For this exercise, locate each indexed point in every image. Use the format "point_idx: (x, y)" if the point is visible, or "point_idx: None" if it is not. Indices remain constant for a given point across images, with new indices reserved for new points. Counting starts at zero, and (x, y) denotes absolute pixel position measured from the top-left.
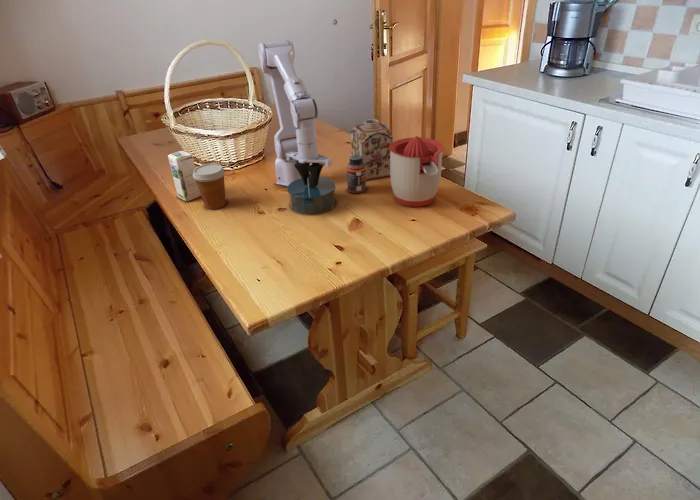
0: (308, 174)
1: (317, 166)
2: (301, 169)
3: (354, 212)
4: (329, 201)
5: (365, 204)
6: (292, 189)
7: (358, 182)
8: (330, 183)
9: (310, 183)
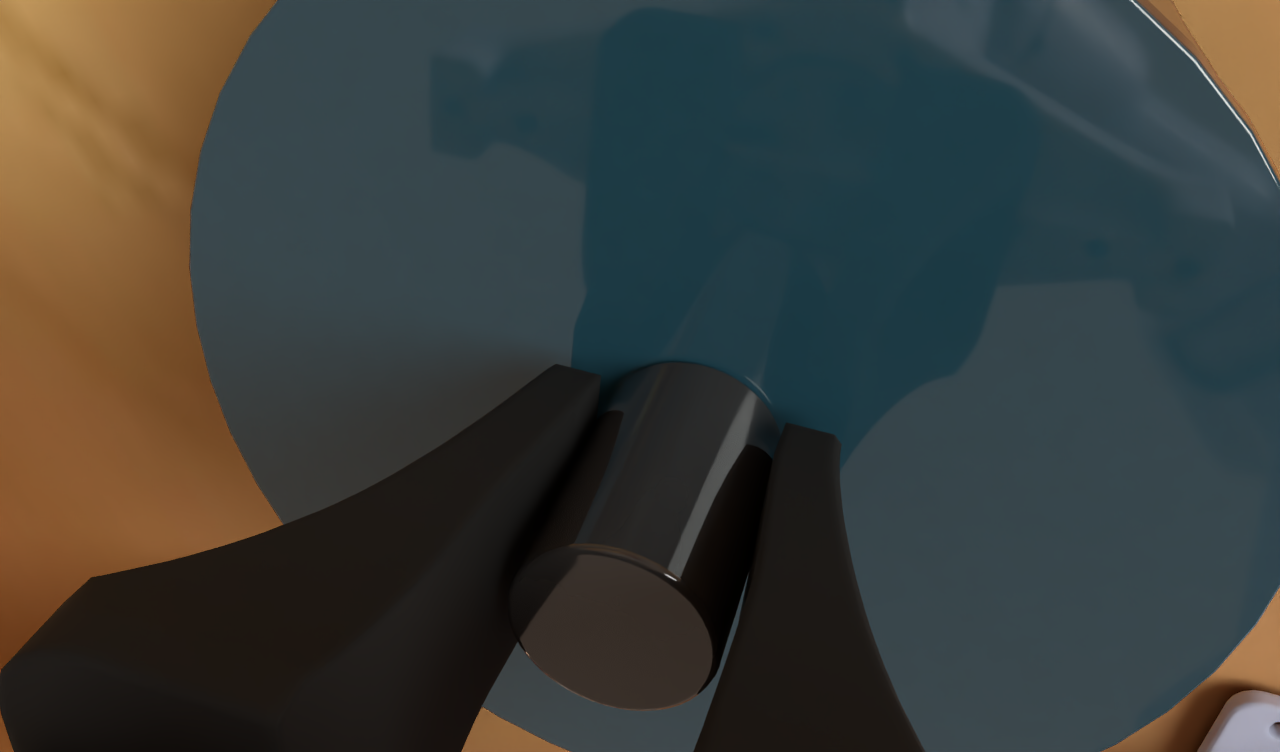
0: (686, 682)
1: (16, 748)
2: (703, 726)
3: (43, 82)
4: None
5: (69, 329)
6: (1123, 233)
7: None
8: None
9: (629, 432)
